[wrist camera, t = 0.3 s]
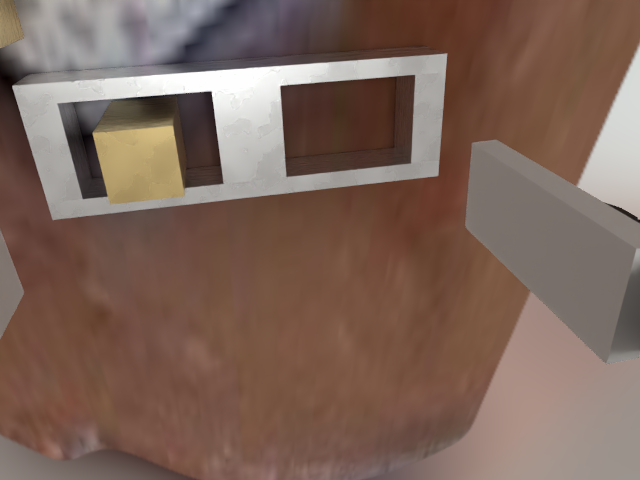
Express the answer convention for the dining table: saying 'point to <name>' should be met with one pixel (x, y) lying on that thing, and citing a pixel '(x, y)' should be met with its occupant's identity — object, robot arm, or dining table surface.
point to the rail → (237, 125)
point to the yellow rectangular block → (9, 23)
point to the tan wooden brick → (142, 150)
